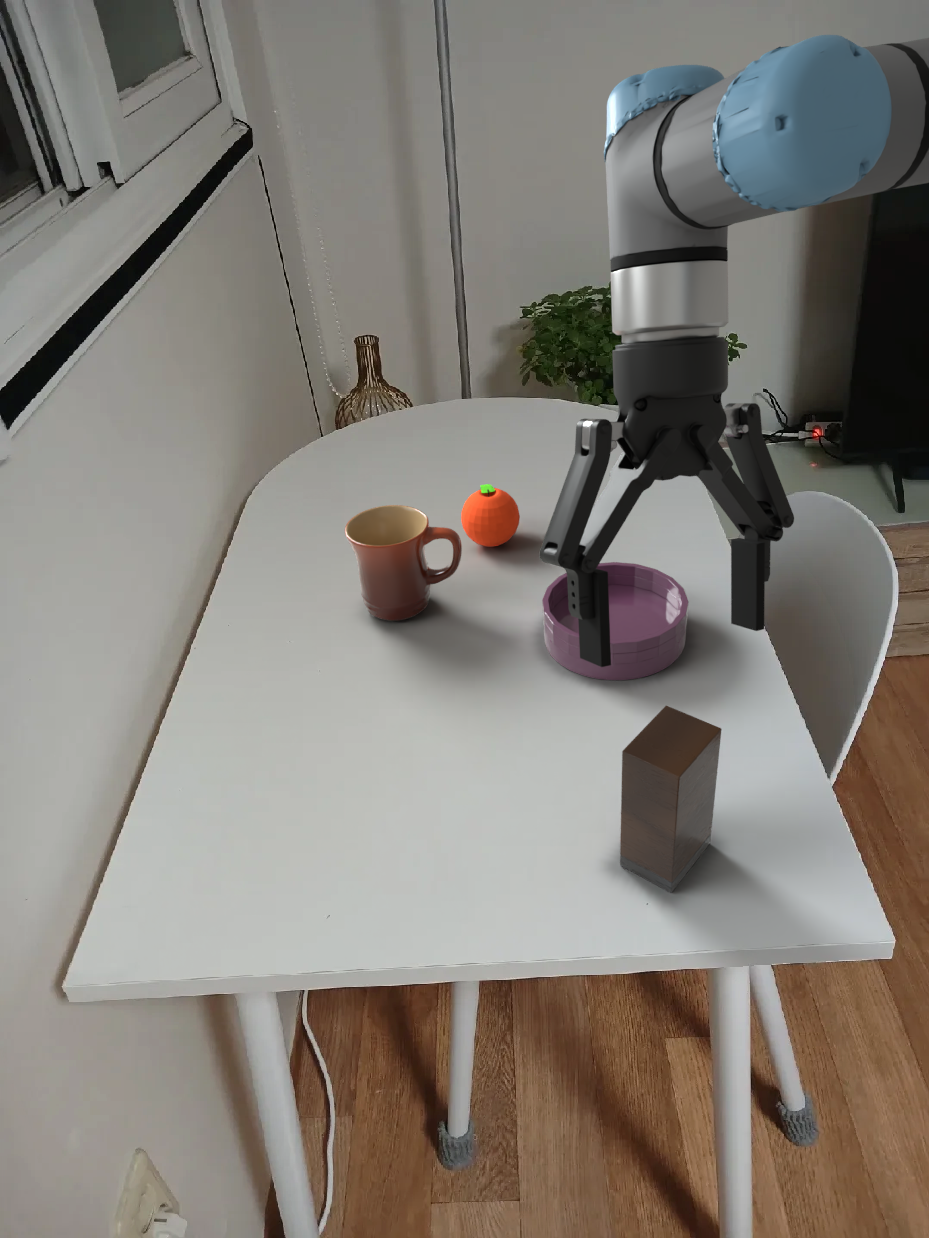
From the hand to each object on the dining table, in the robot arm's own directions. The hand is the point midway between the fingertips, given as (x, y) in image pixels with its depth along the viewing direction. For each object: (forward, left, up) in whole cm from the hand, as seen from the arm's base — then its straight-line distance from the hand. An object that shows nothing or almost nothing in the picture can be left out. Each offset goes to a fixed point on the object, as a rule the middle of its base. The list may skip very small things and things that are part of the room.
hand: (674, 643), depth 69 cm
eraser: (-4, +4, -16) cm, 17 cm away
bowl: (+19, -13, -16) cm, 29 cm away
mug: (+38, -1, -17) cm, 42 cm away
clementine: (+43, -16, -17) cm, 49 cm away
